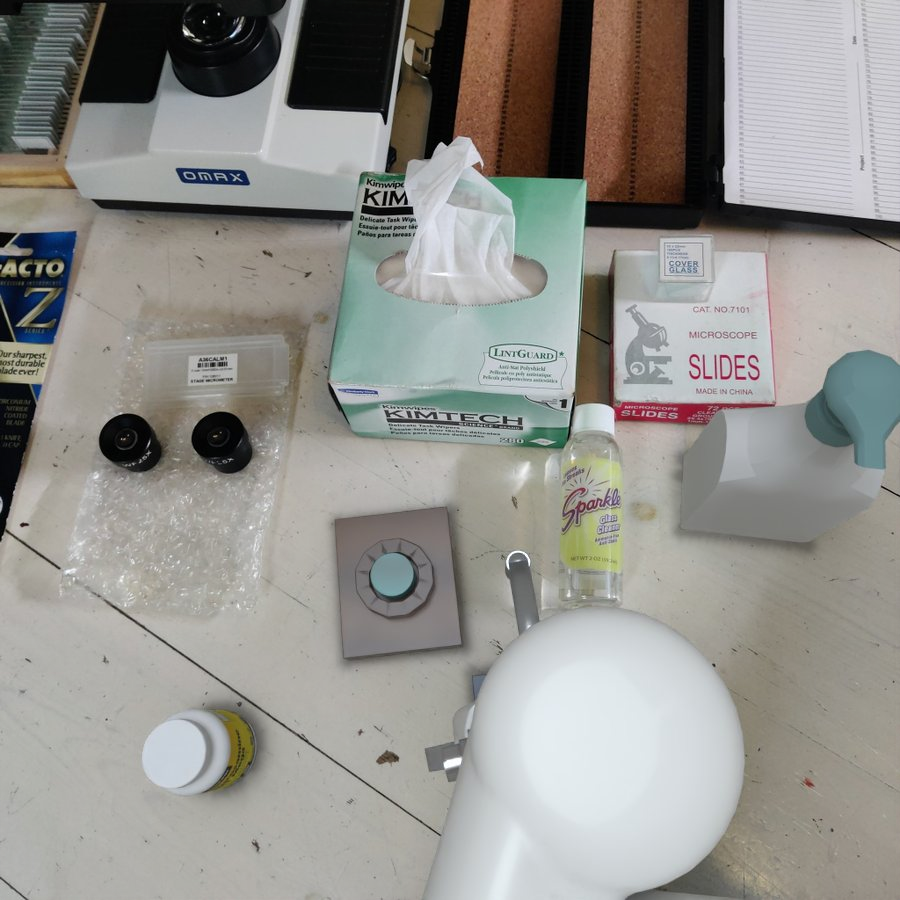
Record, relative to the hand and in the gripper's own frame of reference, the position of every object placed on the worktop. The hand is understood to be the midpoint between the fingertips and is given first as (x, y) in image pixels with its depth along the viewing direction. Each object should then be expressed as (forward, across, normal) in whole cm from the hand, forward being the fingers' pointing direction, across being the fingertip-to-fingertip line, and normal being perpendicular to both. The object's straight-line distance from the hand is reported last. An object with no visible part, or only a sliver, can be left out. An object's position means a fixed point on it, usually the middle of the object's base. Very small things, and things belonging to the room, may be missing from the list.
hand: (545, 729), depth 50 cm
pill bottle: (+19, -26, +4) cm, 32 cm away
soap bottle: (+19, +23, +14) cm, 32 cm away
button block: (+18, -8, +14) cm, 25 cm away
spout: (+1, 0, +4) cm, 5 cm away
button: (+15, -8, +14) cm, 22 cm away
